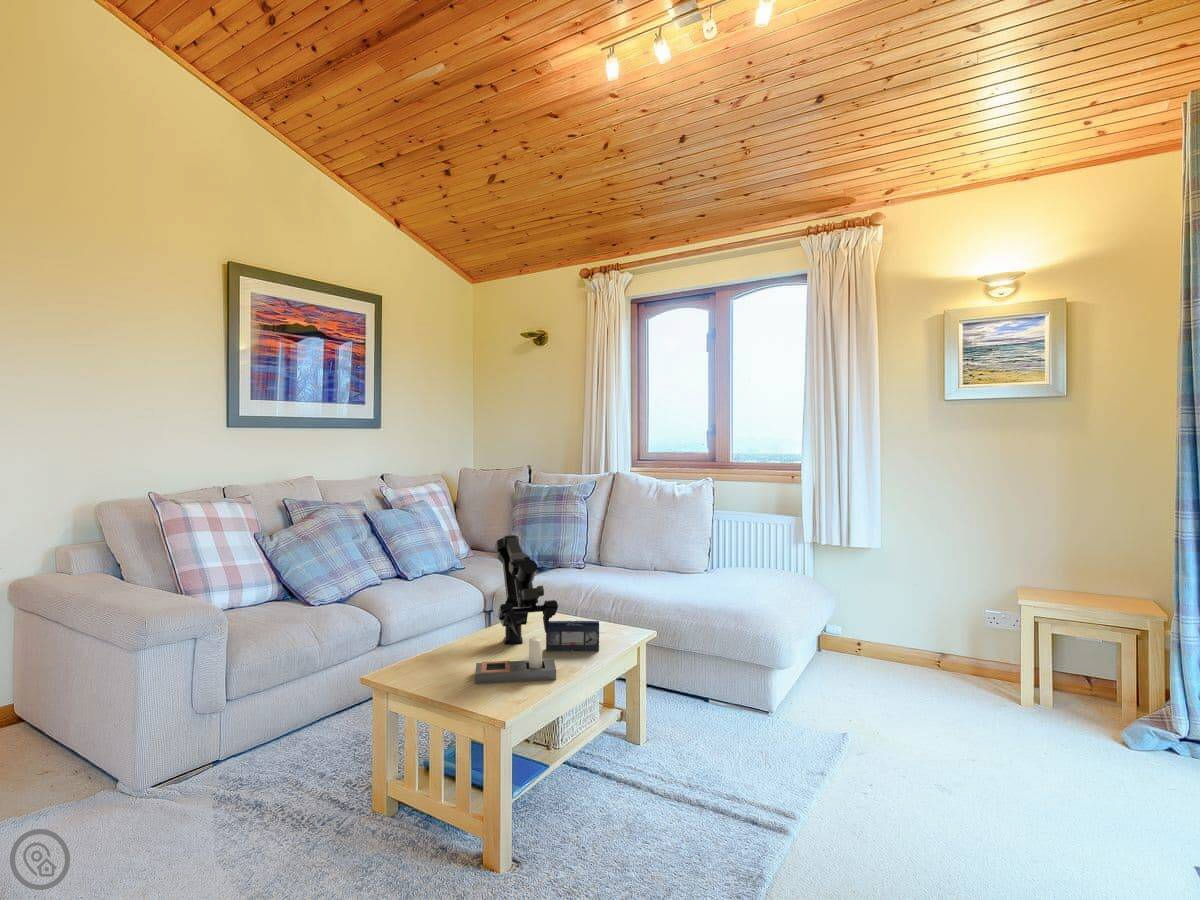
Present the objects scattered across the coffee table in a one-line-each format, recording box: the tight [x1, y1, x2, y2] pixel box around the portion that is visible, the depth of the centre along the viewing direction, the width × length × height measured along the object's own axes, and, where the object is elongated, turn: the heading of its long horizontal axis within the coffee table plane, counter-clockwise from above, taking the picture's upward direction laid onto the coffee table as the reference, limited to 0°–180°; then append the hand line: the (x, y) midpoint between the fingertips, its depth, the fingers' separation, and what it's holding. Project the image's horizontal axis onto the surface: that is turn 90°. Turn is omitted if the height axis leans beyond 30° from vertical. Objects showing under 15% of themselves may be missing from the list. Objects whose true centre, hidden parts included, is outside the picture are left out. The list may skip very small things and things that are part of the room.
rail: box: [474, 658, 557, 685], centre depth 186 cm, size 9×24×3 cm, turn 99°
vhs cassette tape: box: [545, 620, 600, 652], centre depth 209 cm, size 18×3×10 cm, turn 91°
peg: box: [528, 636, 543, 669], centre depth 186 cm, size 4×4×11 cm
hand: (532, 633), depth 191 cm, fingers open, 9 cm apart
